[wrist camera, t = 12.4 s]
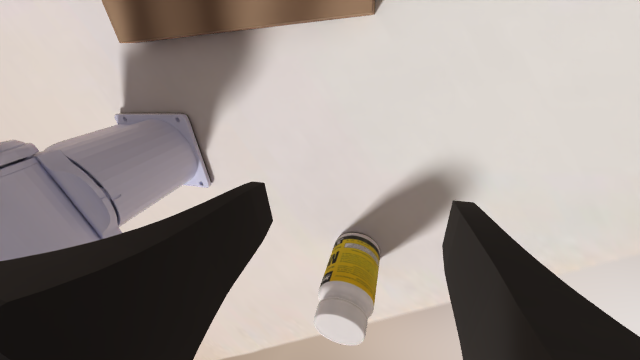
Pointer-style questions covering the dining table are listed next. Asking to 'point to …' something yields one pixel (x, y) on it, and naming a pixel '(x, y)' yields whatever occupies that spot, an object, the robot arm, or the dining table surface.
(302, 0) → the jig board
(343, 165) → the dining table surface
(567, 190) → the dining table surface
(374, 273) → the supplement bottle
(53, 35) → the dining table surface
